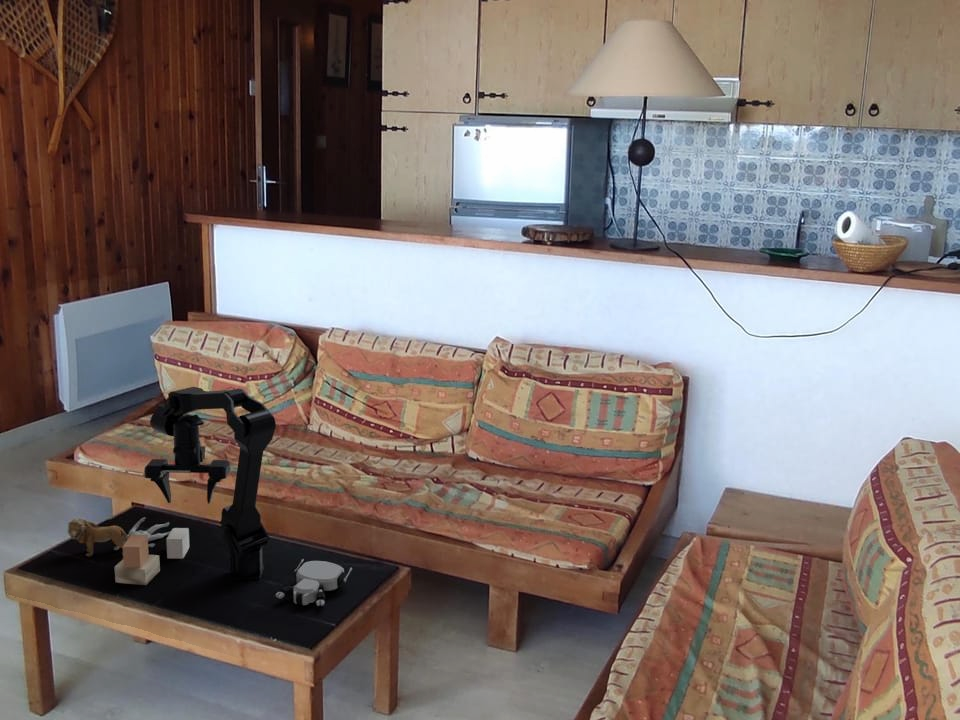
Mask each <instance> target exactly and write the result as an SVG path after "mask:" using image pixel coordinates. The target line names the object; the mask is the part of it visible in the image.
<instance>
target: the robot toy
mask: <svg viewBox="0 0 960 720" xmlns="http://www.w3.org/2000/svg"><path fill="white" fill-rule="evenodd" d="M302 563H303V564H302ZM352 570H353V568H352V567H350V568H349V571H348V572H347V574H346V572H345V569H344V568H343V567H342V565H339V564H336V563H333V562H329V561H323V560H311V561H309V560H308V561H306V562H304V558H303V559H301V561H300V563H299V564H298V566H297V568H296V569H295V570H294V578H295V579H296V583H295V585H293V586H292V585H286V586H284V587H282V588H281V589H280V591H278V592H276V593H275V597H276V598H278V599H283V598H285V599H287V598H289V597H291V596H292V595H293V603H294V604H295V605H297V604H298V605H302V606H308V605H309V603H313V604H314V602H315V604H316V606H317V607H319V606H324V605H325V603H326V602H325V601H326V593H325V592H326V591H327V592H328V591H330V592H331V591H334V590H336V589H338V587H341V586H342V584H344V583H346V582H347V579H348V576H350V573H351V572H352Z"/></svg>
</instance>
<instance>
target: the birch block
mask: <svg viewBox="0 0 960 720" xmlns="http://www.w3.org/2000/svg"><path fill="white" fill-rule="evenodd" d="M160 563H161V562H160V555H157V554H149V556H148V557H147V559H146V560H145V562H144V563H143V565H142V566H141V568H124V561H123V559H121V561H119V562H118V563H117V564H116V565H115V566H114V575H115V576H114V579H115V583H118V584H127V585H128V584H129V585H140V586H147V585H148V584H149V583H150V581H152V580H153V578H155V576H157V574H158V573H159V572H160V571H161V566H160V565H161V564H160Z"/></svg>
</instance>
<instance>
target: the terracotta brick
mask: <svg viewBox="0 0 960 720" xmlns="http://www.w3.org/2000/svg"><path fill="white" fill-rule="evenodd" d="M148 544H149V541H148V535H131V536H130V537H129V538H128V540H127V541H126V542H125V543H124V545H123V549H122V552H123V555H122V560H123V561H124V568H141V566H142V565H143V563H144V562H145V560H146V559H147V557H148V556H149V555H150V554H149V547H148Z"/></svg>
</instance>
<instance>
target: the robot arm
mask: <svg viewBox="0 0 960 720" xmlns="http://www.w3.org/2000/svg"><path fill="white" fill-rule="evenodd" d="M167 395H168V396H167V398H166V399H165V401H164V403H161V404H157V405H156V410H155V411H153V413H152V415H151V416H150V420H149V424H150V427H151V428H152V429H153V430H154V431H156V432H158V433H161V434H164V435H165V436H169V437H173V449H172V451H173V455H174V464H173V463H169V461H168V459H165V458H162V459H161V458H159V459H158V458H152V459H151V460H150V461H148V463H147V464H146V466H145V467H144V471H143V472H144V473H143V474H144V478H145V479H150V481H151V482H154V483H155V484H156V486H157V487H158V488H159V490H160V491H161V493H162V495H163V496H164V498H165V499H166V501H167V503H168V504H171V502H172V492H171V485H170V473H182V474H185V473H186V474H187V473H188V474H191V473H193V474H208V478H207V482H206V483H207V484H206V488H207V489H206V501H207V504H210V503H211V500H212V498H213V494H214V492H215V488H216V485H217V483H220V482H222V480H224V479H227V477H228V475H229V474H230V472H231V463H230V461H228V459H212V461H211V462H210V463H209V464H201V463H203V462H204V460H205V459H206V446H204V445H203V446H202V445H201V444H202V443H201V440H200V426H203V425H204V424H205V421H204V420H203V419H202V418H201V417H200V416H199V415H198V414H193V415H190V414H191V413H193V412H198V411H201V410H219V409H222V410H223V411H225V414H226V416H225V417H226V423H227V426H229V427H230V429H231V430H232V431H233V432H234V434H233V435H234V436H233V438H234V441H235V442H236V444H237V445H238V447H239V452H238V453H239V455H238V464H237V468H236V469H237V470H236V477H235V484H234V492H233V497H232V504H230V505H228V506H226V507H223V508H222V510H221V519H220V521H219V524H220V525H221V526H220V534H221V537H222V542H223V546H224V549H225V552H227V553H228V555H229V557H228V559H229V573H230V579H231V580H259V579H261V577H262V574H263V571H264V568H265V564H264V563H263V547H265V546H268V545H269V543H270V540H271V538H270V535H269V534H268V532H267V530H266V528H265V527H264V525H263V523H262V521H261V519H262V516H261V513H260V512H259V510H258V508H257V505H256V503H257V498H258V497H257V496H258V489H259V484H260V483H259V482H260V477H261V476H260V475H261V471H262V470H261V469H262V463H263V455H264V452H265V450H266V448H267V447H268V445H269V444H270V443H271V442H272V440H273V438H274V434H275V431H276V424H277V422H276V419H275V416H274V415H273V413H272V412H270V410H269V409H268V408H267V406H265V404H264V403H262V402H260V401H259V400H257V399H255V398H253V397H251V396H250V395H248V393H247V392H246V390H244V388H234V389H222V390H207V391H206V390H204V389H203V388H201V387H196V386H191V387H186V388H181V389H177V390H176V389H175V390H173V391H170V392H168V394H167ZM240 407H241V408H242V409H243V410H245V411H247V412H249V413H245V414H241V415H237V413H236V412H235V408H240ZM168 463H169V464H168Z"/></svg>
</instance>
